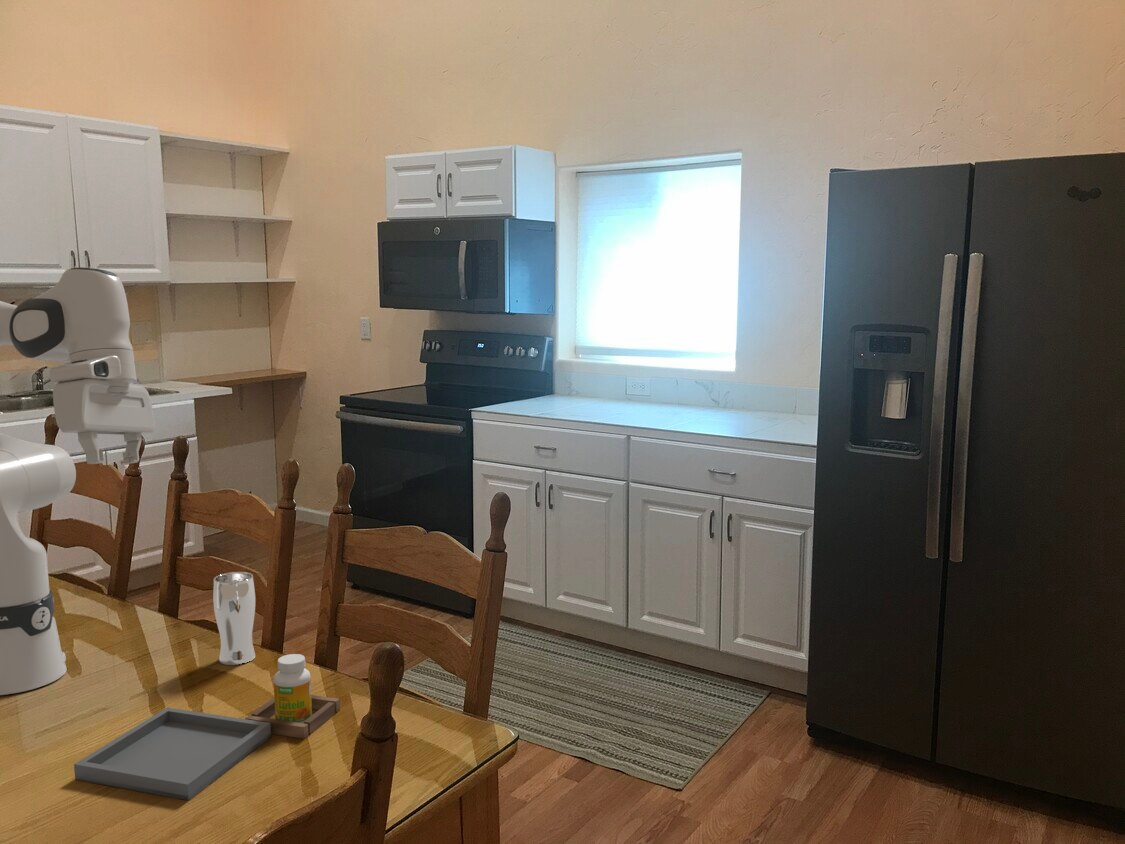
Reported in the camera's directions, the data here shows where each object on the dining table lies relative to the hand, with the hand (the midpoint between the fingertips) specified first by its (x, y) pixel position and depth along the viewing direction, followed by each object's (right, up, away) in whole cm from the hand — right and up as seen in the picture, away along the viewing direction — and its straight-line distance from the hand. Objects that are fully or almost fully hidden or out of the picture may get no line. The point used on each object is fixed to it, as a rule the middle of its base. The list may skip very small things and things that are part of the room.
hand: (114, 463), depth 141 cm
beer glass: (+10, -36, +25) cm, 45 cm away
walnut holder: (+27, -39, +1) cm, 47 cm away
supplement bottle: (+27, -39, +1) cm, 48 cm away
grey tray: (+14, -41, -10) cm, 44 cm away
